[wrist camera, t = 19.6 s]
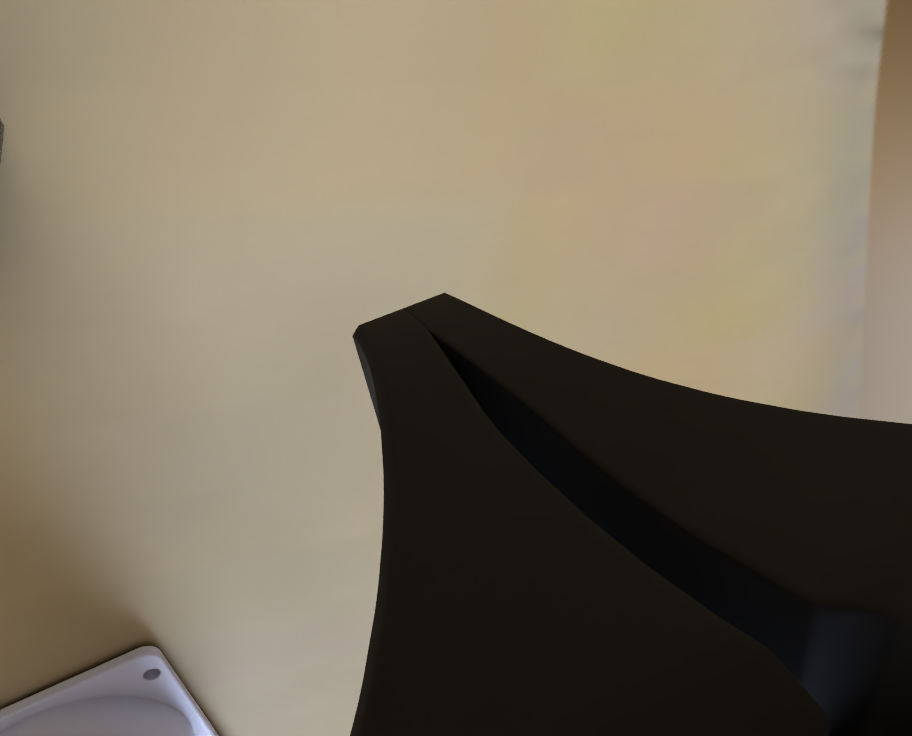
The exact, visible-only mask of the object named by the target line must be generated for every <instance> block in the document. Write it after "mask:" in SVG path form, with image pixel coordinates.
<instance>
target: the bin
mask: <svg viewBox="0 0 912 736" xmlns="http://www.w3.org/2000/svg"><path fill="white" fill-rule="evenodd" d="M3 131H4V125H3V123H2V121H1V119H0V162H1V153H2V144H3Z"/></svg>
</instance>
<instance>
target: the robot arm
mask: <svg viewBox="0 0 912 736" xmlns="http://www.w3.org/2000/svg"><path fill="white" fill-rule="evenodd" d="M353 339H354V342H355V345H356V349H357V352H358V355H359V359H360V362H361V365H362V369H363V372H364V376H365V379H366V382H367V386H368V389H369V392H370V396H371V399H372V402H373V406H374V409H375V412H376V416H377V419H378V422H379V426H380V429H381V439H382V455H383V470H384V515H383V538H382V550H381V562H380V574H379V584H378V593H377V601H376V608H375V615H374V621H373V626H372V632H371V638H370V644H369V650H368V655H367V661H366V667H365V673H364V678H363V684H362V688H361V693H360V698H359V702H358V707H357V711H356V715H355V719H354V723H353V727H352V731H351V735H350V736H912V424H903V423H895V422H886V421H876V420H867V419H858V418H849V417H840V416H833V415H826V414H819V413H812V412H805V411H799V410H793V409H787V408H782V407H777V406H771V405H766V404H760V403H755V402H749V401H744V400H739V399H734V398H730V397H725V396H721V395H716V394H712V393H708V392H704V391H700V390H696V389H692V388H689V387H685V386H681V385H677V384H674V383H670V382H666V381H662V380H658V379H655V378H652V377H649V376H645V375H642V374H639V373H636V372H632V371H629V370H627V369H624V368H621V367H618V366H615V365H612V364H609V363H607V362H604V361H601V360H598V359H595V358H592V357H590V356H587V355H584V354H582V353H579V352H577V351H574V350H571V349H569V348H566V347H564V346H561V345H559V344H557V343H554V342H552V341H549V340H547V339H545V338H542V337H540V336H538V335H535V334H533V333H531V332H528V331H526V330H524V329H522V328H519V327H517V326H515V325H513V324H511V323H508V322H506V321H504V320H502V319H500V318H498V317H495V316H493V315H491V314H489V313H487V312H485V311H483V310H481V309H478V308H476V307H474V306H472V305H470V304H468V303H466V302H464V301H462V300H459V299H457V298H455V297H453V296H451V295H448V294H446V293H443V294H440V295H438V296H435V297H432V298H430V299H427V300H424V301H422V302H419V303H416V304H414V305H411V306H409V307H406V308H403V309H401V310H398V311H395V312H393V313H390V314H387V315H385V316H382V317H380V318H377V319H374V320H372V321H369V322H366V323H364V324H361V325H359V326H358V328H357V329H356V331H355V333H354V334H353ZM149 669H152V670H149ZM0 736H219V735H218V734H217V732H216V731H215V729H214V728H213V726H212V725H211V724H210V722H209V721H208V719H207V718H206V716H205V715H204V713H203V712H202V711H201V709H200V708H199V706H198V705H197V703H196V702H195V700H194V699H193V697H192V696H191V695H190V693H189V692H188V690H187V689H186V687H185V686H184V684H183V683H182V682H181V680H180V679H179V677H178V676H177V674H176V673H175V671H174V670H173V668H172V667H171V666H170V664H169V663H168V661H167V660H166V658H165V657H164V655H163V654H162V653H161V651H160V650H159V649H158V648H157V647H154V646H143V647H139V648H137V649H135V650H132V651H130V652H128V653H126V654H124V655H121V656H119V657H117V658H115V659H112V660H110V661H108V662H106V663H103V664H101V665H99V666H97V667H95V668H92V669H90V670H88V671H86V672H83V673H81V674H79V675H77V676H74V677H72V678H70V679H68V680H65V681H63V682H61V683H59V684H57V685H54V686H52V687H50V688H48V689H45V690H43V691H41V692H39V693H36V694H34V695H32V696H30V697H28V698H25V699H23V700H21V701H19V702H16V703H14V704H12V705H10V706H7V707H5V708H3V709H1V710H0Z"/></svg>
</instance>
